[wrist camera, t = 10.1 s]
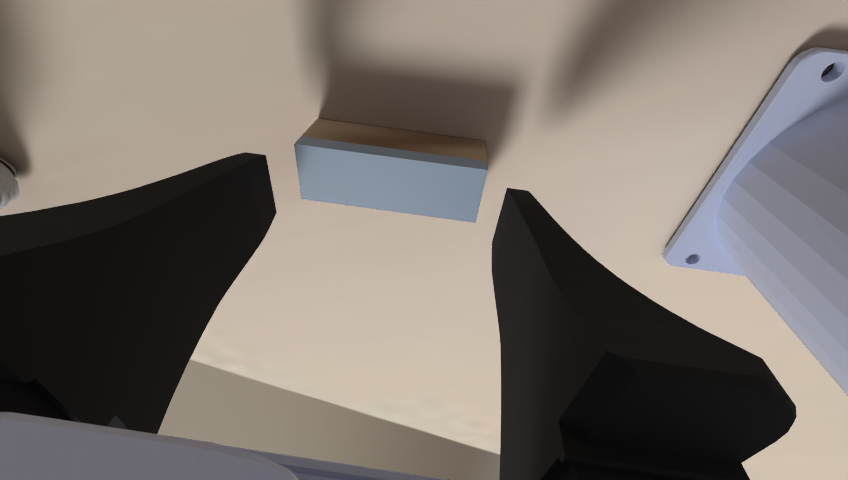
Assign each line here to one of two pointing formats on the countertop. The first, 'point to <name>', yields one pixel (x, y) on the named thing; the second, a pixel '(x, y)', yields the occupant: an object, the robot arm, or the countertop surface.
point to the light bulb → (7, 183)
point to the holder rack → (392, 169)
